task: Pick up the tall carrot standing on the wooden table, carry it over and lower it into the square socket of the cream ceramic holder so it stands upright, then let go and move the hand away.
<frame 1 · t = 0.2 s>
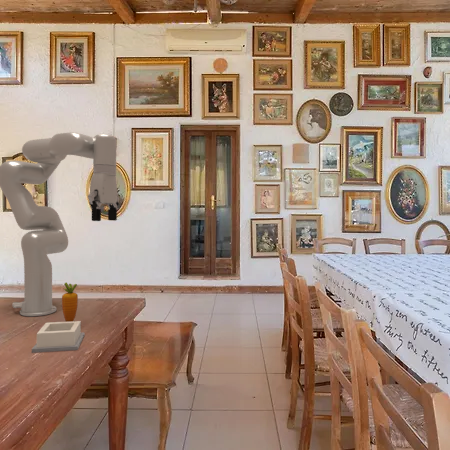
hand: (104, 220, 125), 36 cm above the table, tool pointing down, fingers open, 9 cm apart
holder: (59, 343, 107), on the table
carrot: (69, 326, 123), on the table
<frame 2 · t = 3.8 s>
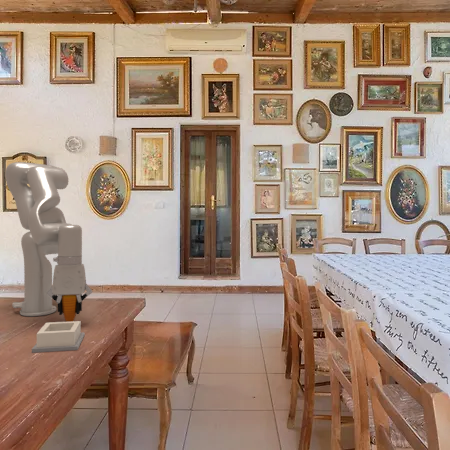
hand: (69, 313, 123), 4 cm above the table, tool pointing down, fingers closed on carrot, 4 cm apart
carrot: (69, 326, 123), on the table, touching gripper
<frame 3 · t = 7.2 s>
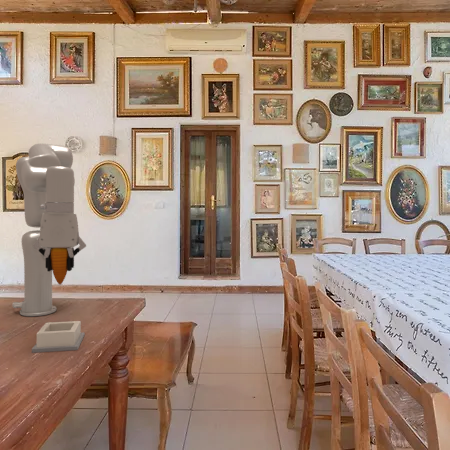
hand: (59, 269, 106), 22 cm above the table, tool pointing down, fingers closed on carrot, 4 cm apart
carrot: (60, 285, 106), point 18 cm above the table, touching gripper
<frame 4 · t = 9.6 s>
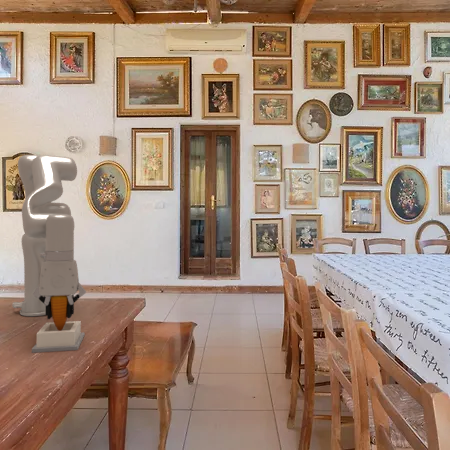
hand: (59, 316, 106), 8 cm above the table, tool pointing down, fingers closed on carrot, 4 cm apart
carrot: (60, 331, 107), point 4 cm above the table, touching gripper
when the fingers open (7 cm above the table, at t = 10.8 s): carrot drops 1 cm, resting on holder.
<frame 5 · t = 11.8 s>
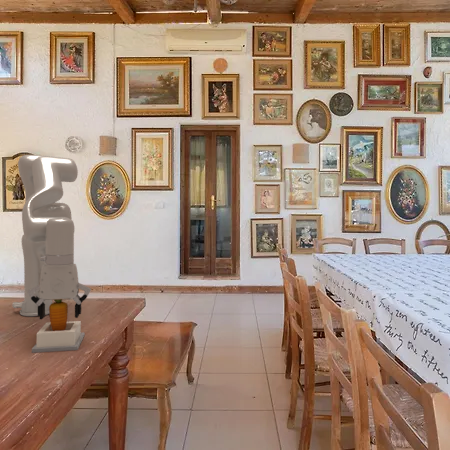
hand: (59, 317, 107), 8 cm above the table, tool pointing down, fingers open, 9 cm apart
carrot: (59, 340, 107), point 1 cm above the table, touching holder
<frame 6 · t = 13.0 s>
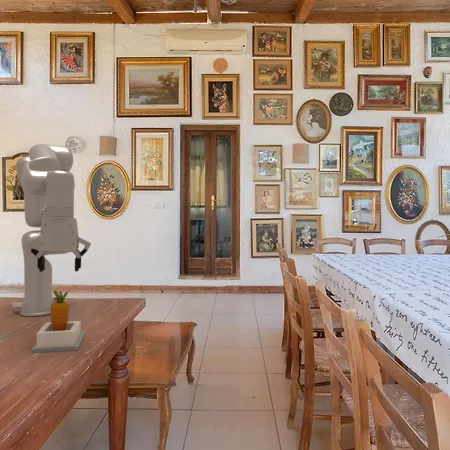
hand: (59, 270, 106), 22 cm above the table, tool pointing down, fingers open, 9 cm apart
nothing on the table moved.
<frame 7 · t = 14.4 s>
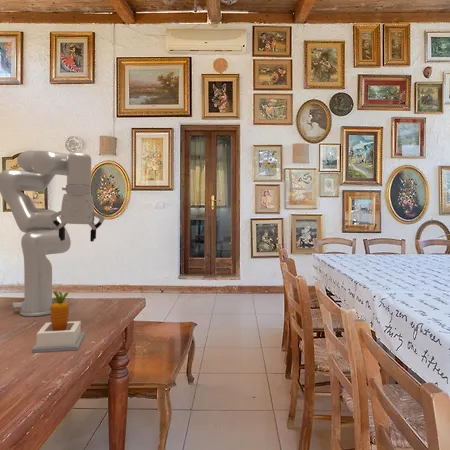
hand: (77, 240, 122), 29 cm above the table, tool pointing down, fingers open, 9 cm apart
nothing on the table moved.
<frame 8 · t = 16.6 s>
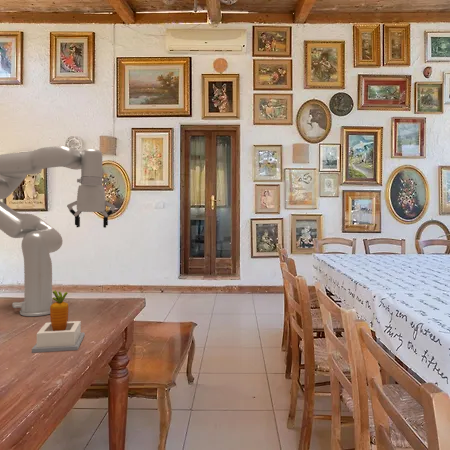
hand: (91, 227, 137), 33 cm above the table, tool pointing down, fingers open, 9 cm apart
nothing on the table moved.
at the end: carrot 0.3 cm off-centre on the holder, point 0.8 cm above the holder's base; carrot tilted 1°; the gripper is holding nothing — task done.
